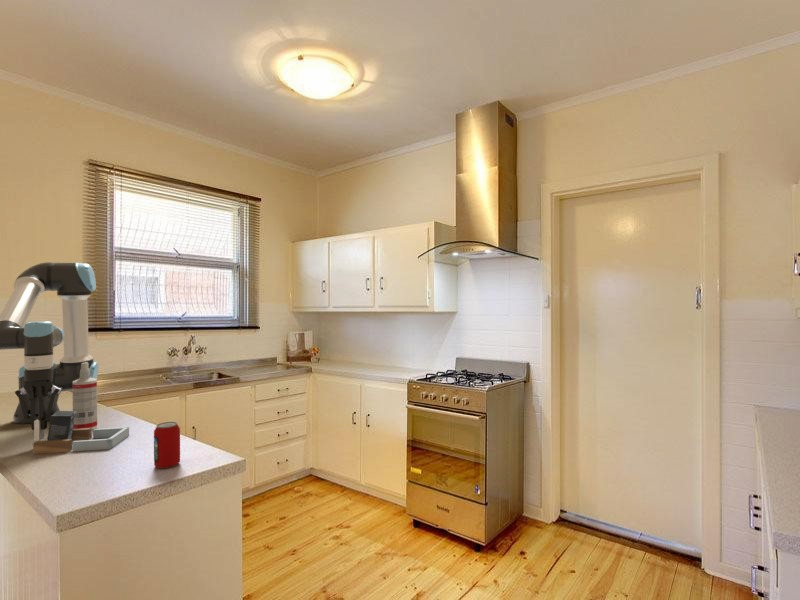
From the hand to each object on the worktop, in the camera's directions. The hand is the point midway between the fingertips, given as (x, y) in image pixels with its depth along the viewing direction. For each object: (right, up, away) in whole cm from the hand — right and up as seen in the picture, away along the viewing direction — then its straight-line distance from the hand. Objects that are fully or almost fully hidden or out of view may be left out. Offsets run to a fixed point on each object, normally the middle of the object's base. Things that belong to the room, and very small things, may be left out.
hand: (39, 439), depth 148 cm
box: (+6, -2, +1) cm, 6 cm away
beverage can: (+52, -2, -18) cm, 55 cm away
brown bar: (+7, -3, +2) cm, 8 cm away
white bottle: (0, -3, +22) cm, 22 cm away
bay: (+18, -2, +4) cm, 19 cm away
